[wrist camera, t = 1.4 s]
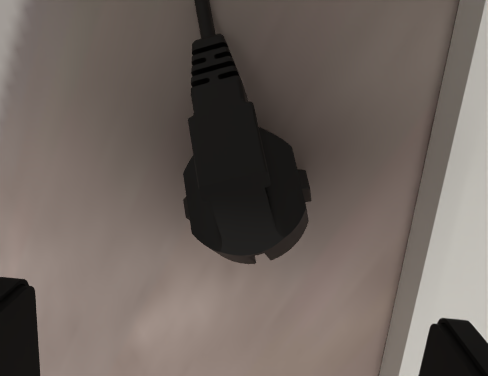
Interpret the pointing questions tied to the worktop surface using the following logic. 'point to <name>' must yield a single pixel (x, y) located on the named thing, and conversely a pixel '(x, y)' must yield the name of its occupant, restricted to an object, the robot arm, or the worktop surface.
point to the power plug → (237, 163)
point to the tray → (448, 206)
